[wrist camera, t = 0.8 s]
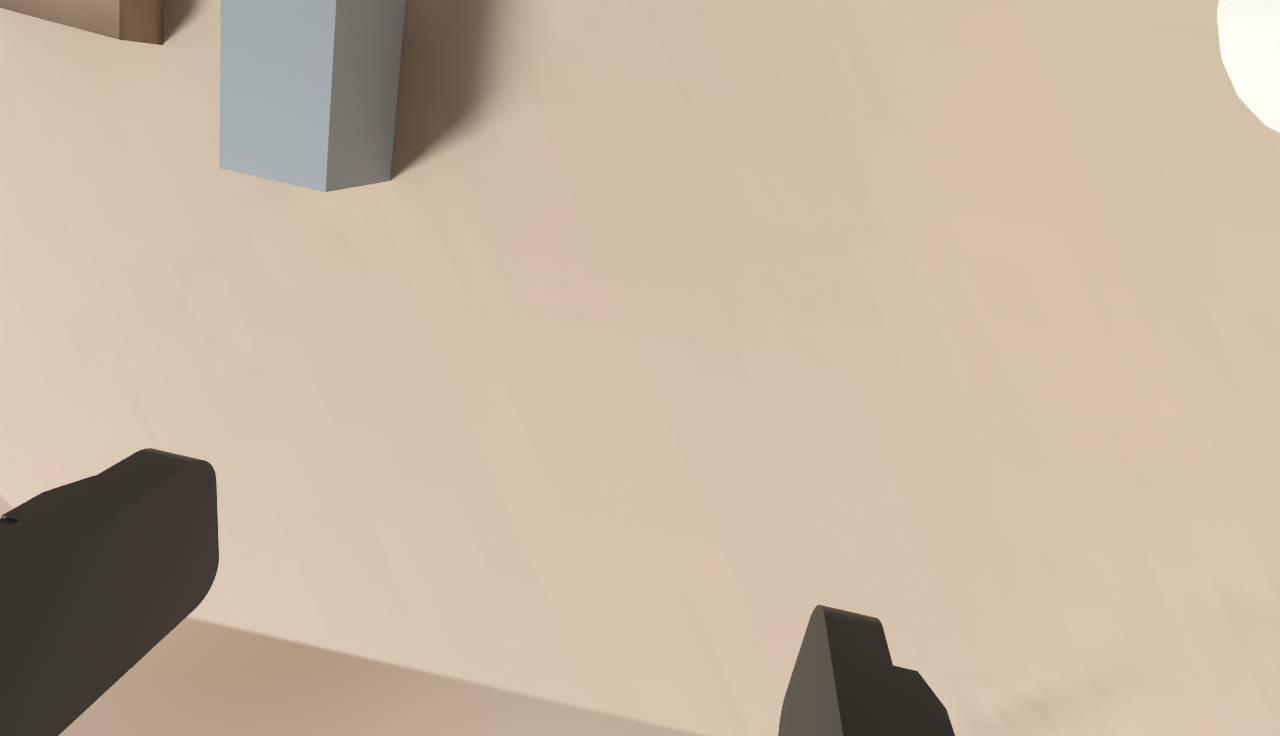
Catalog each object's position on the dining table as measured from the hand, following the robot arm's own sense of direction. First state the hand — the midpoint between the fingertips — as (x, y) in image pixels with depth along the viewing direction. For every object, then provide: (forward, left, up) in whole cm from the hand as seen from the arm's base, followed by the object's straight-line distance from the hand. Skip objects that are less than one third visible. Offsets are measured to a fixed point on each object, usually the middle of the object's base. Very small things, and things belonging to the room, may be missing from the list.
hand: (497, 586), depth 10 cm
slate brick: (-4, -16, -27) cm, 31 cm away
